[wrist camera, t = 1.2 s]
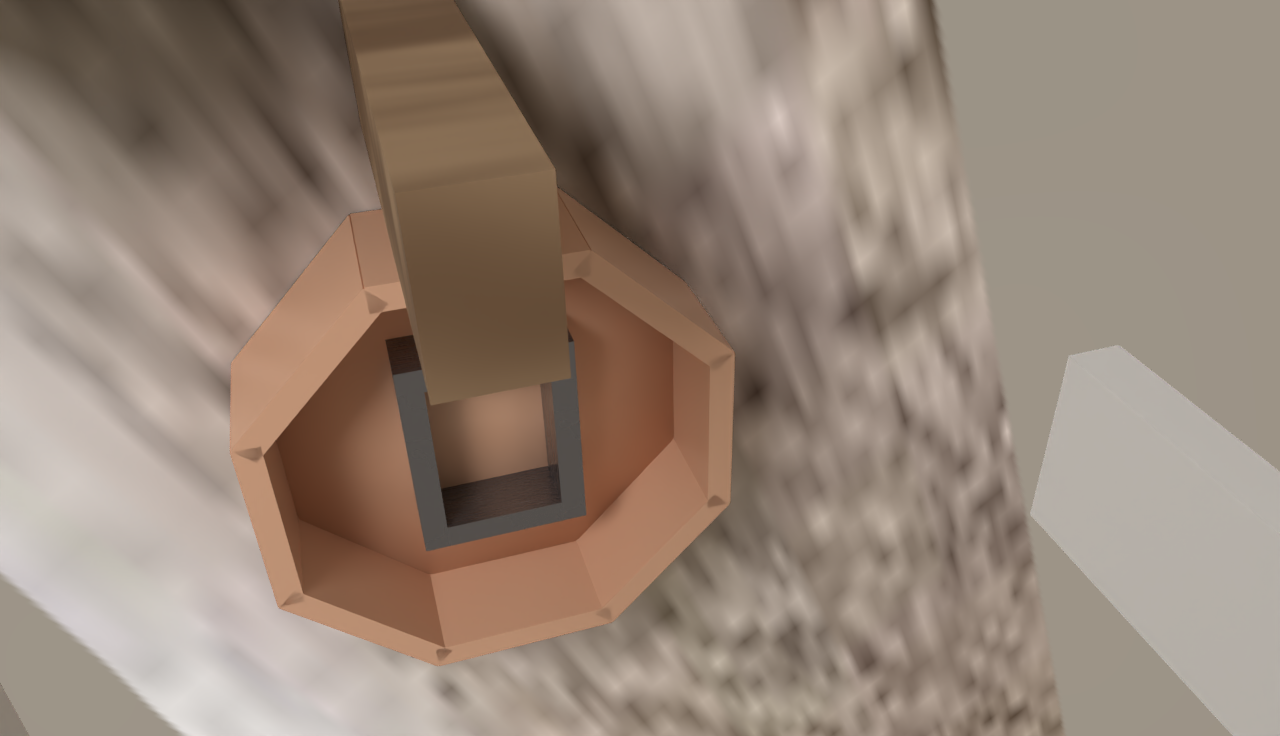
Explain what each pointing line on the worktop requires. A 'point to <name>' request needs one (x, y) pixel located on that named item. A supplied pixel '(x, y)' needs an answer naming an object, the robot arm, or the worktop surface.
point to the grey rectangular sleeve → (498, 498)
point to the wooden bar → (460, 200)
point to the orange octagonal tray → (477, 451)
